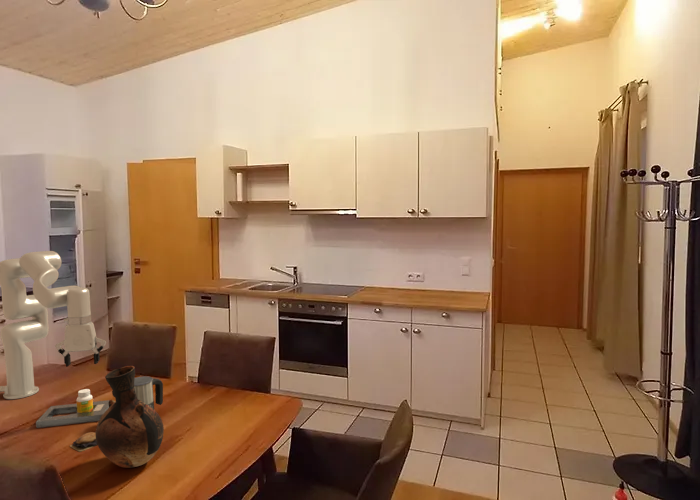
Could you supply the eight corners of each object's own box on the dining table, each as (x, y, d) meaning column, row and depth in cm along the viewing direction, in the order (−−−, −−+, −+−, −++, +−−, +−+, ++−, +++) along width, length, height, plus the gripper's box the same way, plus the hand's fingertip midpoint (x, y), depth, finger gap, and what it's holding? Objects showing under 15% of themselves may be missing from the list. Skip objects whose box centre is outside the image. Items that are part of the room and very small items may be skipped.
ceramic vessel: (178, 456, 145) (173, 364, 143) (129, 486, 130) (124, 383, 128) (133, 442, 155) (128, 356, 153) (83, 468, 139) (77, 372, 137)
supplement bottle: (81, 419, 173) (79, 394, 173) (75, 415, 177) (73, 391, 176) (96, 414, 178) (94, 390, 177) (89, 411, 181) (88, 387, 180)
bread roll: (80, 454, 149) (79, 443, 149) (67, 447, 154) (67, 436, 153) (112, 440, 158) (111, 430, 157) (99, 434, 162) (99, 424, 162)
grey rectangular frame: (36, 428, 167) (35, 421, 167) (51, 412, 180) (50, 406, 180) (102, 420, 172) (102, 414, 172) (112, 405, 186) (111, 399, 185)
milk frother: (144, 425, 168) (142, 385, 167) (107, 421, 171) (105, 383, 170) (167, 408, 182) (166, 372, 181) (132, 405, 185) (131, 370, 184)
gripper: (50, 324, 168) (53, 369, 170) (102, 321, 173) (104, 365, 174) (57, 319, 176) (60, 363, 177) (107, 316, 180) (109, 359, 181)
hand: (82, 364), depth 176 cm, fingers open, 9 cm apart
